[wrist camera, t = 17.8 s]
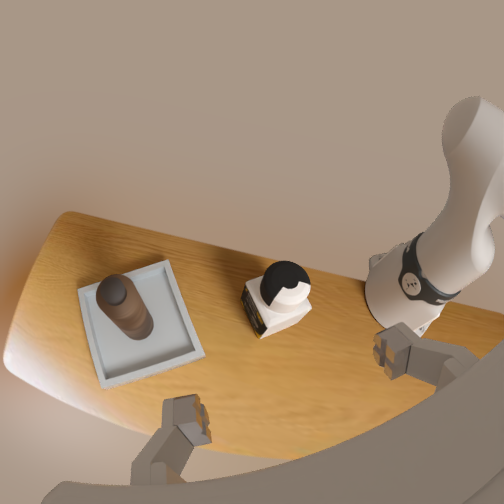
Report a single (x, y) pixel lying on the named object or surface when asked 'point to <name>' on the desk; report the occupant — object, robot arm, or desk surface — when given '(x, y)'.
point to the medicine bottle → (276, 298)
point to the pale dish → (151, 348)
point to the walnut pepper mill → (124, 306)
